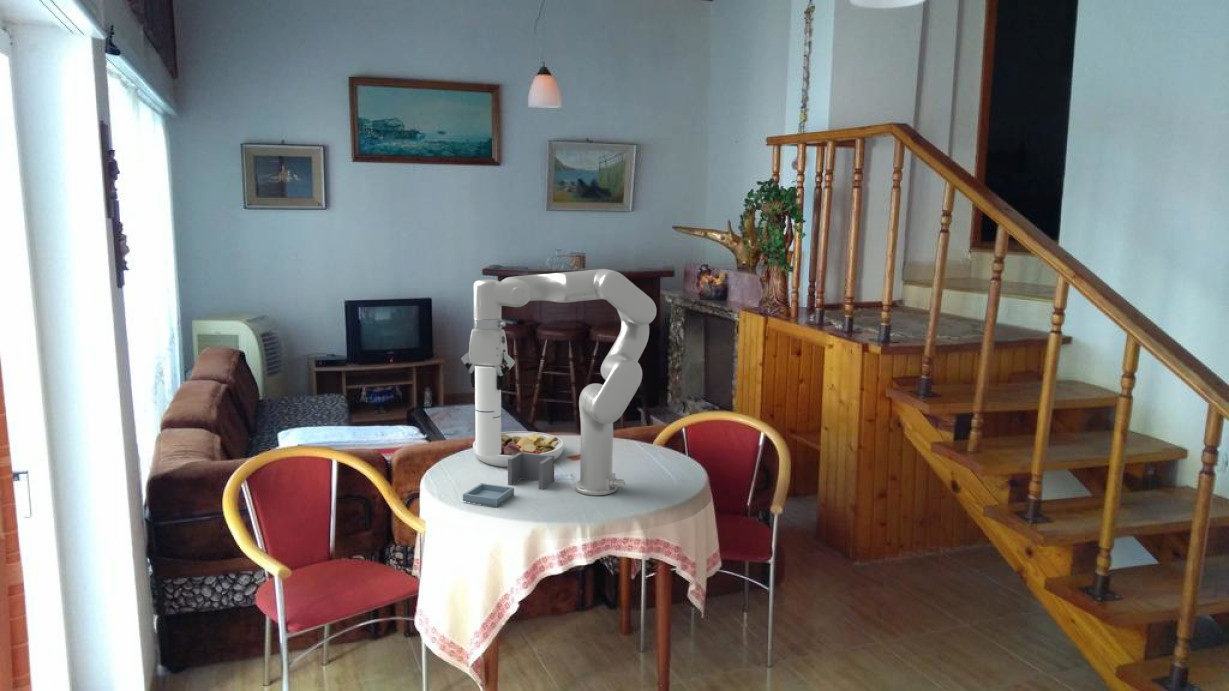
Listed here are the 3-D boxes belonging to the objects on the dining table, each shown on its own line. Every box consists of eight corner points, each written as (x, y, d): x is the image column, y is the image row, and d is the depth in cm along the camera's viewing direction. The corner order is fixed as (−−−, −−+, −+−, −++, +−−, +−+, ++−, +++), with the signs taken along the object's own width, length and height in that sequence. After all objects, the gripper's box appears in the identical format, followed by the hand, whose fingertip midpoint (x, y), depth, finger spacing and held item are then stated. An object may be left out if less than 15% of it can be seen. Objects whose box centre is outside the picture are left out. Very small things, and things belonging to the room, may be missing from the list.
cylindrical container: (473, 450, 238) (472, 363, 234) (498, 448, 240) (497, 362, 236) (478, 457, 231) (477, 368, 227) (503, 455, 234) (503, 367, 230)
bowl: (482, 443, 295) (482, 422, 294) (567, 446, 294) (567, 424, 293) (464, 469, 265) (464, 445, 264) (558, 472, 264) (559, 448, 263)
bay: (554, 481, 255) (554, 455, 253) (542, 489, 247) (542, 463, 246) (520, 476, 258) (520, 451, 257) (507, 484, 251) (507, 459, 249)
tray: (514, 495, 241) (514, 487, 241) (496, 507, 231) (496, 499, 231) (481, 490, 245) (481, 483, 244) (463, 502, 235) (462, 494, 234)
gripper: (522, 325, 231) (522, 388, 233) (466, 321, 236) (467, 382, 239) (509, 328, 224) (510, 393, 226) (452, 324, 229) (453, 387, 232)
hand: (487, 387), depth 233 cm, fingers closed on cylindrical container, 7 cm apart
